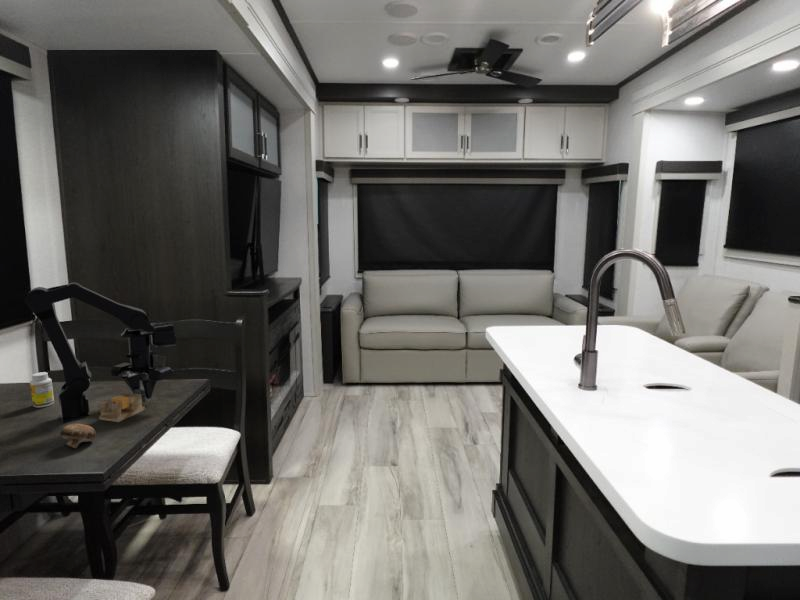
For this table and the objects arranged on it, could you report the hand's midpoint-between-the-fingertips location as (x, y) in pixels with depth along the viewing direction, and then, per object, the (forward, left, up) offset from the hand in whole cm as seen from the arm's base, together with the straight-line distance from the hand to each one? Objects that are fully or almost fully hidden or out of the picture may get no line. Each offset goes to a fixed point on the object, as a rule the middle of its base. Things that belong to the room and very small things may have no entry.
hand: (143, 397), depth 158 cm
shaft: (-4, -2, -1) cm, 5 cm away
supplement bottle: (-23, +22, -3) cm, 32 cm away
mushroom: (-21, -19, -3) cm, 29 cm away
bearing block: (-7, -4, -2) cm, 9 cm away
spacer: (-8, -4, 0) cm, 9 cm away
